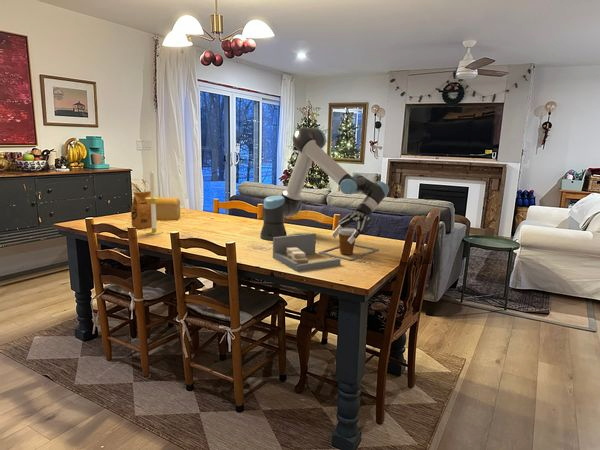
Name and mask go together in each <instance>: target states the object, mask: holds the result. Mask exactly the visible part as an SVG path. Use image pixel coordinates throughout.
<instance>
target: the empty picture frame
mask: <svg viewBox="0 0 600 450" xmlns="http://www.w3.org/2000/svg"><path fill="white" fill-rule="evenodd" d="M354 247H358V248H361V249H367V250H371V251H368V252H366V253H362V254H360V255H357V256H355V257H352V258H348V257H345V256H344V257H343V256H340V255H337V254H331V253H327V252H330V251H333V250H336V249H340V245H337V246H333V247H331V248H329V249H325V250H321V251H319V252H318V254H320V255H323V256H327V257H328V258H330V259H332V260H333V259H341V260H345V261H348V262H352V261H355V260H357V259H361V258H363V257H365V256H368V255H371V254H373V253H376V252H378V251H379V250H380V249H378V248H374V247H369V246H364V245H361V244H360V245H359V244H355V243H354Z"/></svg>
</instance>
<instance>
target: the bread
mask: <svg viewBox="0 0 600 450" xmlns="http://www.w3.org/2000/svg"><path fill="white" fill-rule="evenodd" d="M159 197H160V199H156V200H155V204H156V221H157V220H176V221H179V220H180V218H181V201H180V199H179V198H178V197H175V196H174V197H173V196H159ZM178 219H179V220H178Z"/></svg>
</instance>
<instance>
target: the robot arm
mask: <svg viewBox="0 0 600 450" xmlns="http://www.w3.org/2000/svg"><path fill="white" fill-rule="evenodd" d="M326 142H327V138H326V134H325V133H324V131H323V130H321V128H317V127H305V126H302V127H299V128H297V129H296V130H295V132H293V135H292V143H293V146H294V147H295V148H296V150H297V151H298V155H297V157H296V158H297V159H296V160H295V164H294V166H293V170H292V172H291V175H290V178H289V181H288V184H287V187H286V189H285V190H282V193H281V195H270V196H269V195H268V196H267V197H265V198H264V199H263V207H262V208H263V225H262V227H261V230H260V232H259V233H260V235H259V236H260V237H259V238H260V239H262V240H265V241H266V240H267V241H273V237H282V236H288V233H287V230H286V227H285V218H288V217H293V216H295V215H298V214H299V213H300V212H301V210H302V207H303V206H302V205H303V202H302V195H301V193H302V190H303V188H304V186H305V183H306V180H307V176H308V174H309V171H310V169H311V166H312V162H313V163H314V164H315V165H316V166H318V168H320V169H321V170H322V171H323V173H325V174H327V176H328V177H329V178H331V180H333V181H334V182H335V183H336V184H337V185H338V186H339V189H340V191H341V193H342V194H344V195H353V194H358V193H361V194H363V195H365V197H364V198H363V200H362V201H361V203H359V205H358V206H356V211H355V212H353V210H351V211H350V212H349V213H348V214H347V215H345V216H344V217H343V218H341V219H340V220H338V221H337V225H338V226H336V228H335V230H334V231H333V232H332V233H331V236H332V237H333V238H334V239H335V238H337V237H338V236H339V233H338V231H339V229H340V228H345V227H346V226H349V225H350V224H351V223H357V229H356V228H355V229H356V230H355V232H354V233H353V234H352V235H351V237H350V238H349V239H348V242H349V243H350V244H352V243H353V241H354V240H355V241H356V239H357V238H358V237H359V236H360V235H361V234H362V235H365V233H366V230H367V228H368V224H369V222H370V220H371V218H370V217H371V215H372V213H373V212H374V211H375V210H376V208H377V207H378V206H379V204H380V203H381V202H382V201H383V200H384V198H386V196H387V195H388V194H389V192H390V187H389V186H388V184H387V183H385V182H384V181H377V182H373V181H372V180H370V179H369V178H366V177H365V176H363V175H361V174H360V173H356V174H354V175H353V176H352V175H351V174H350V173H348V172H347V171H346V169H344V168H343V167H342V165H340V164H339V163H337V161H335V160H334V159H333V158H332V157H331V156H330V155H329V154H328V153H326V151H324V150H323V148H324V147H325V145H326Z"/></svg>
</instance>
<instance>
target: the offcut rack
mask: <svg viewBox="0 0 600 450" xmlns="http://www.w3.org/2000/svg"><path fill="white" fill-rule="evenodd" d="M316 242H317V234H316V233H315V232H313V233H311V232H310V233H304V234H303V233H302V234H294V235H287V236H282V237H273V240H272V258H273V259H275V260H276V261H277V262H279V263H281V264H283V265H284V266H287V267H288V268H290V269H292V270H294V271H295V272H301V271H307V270H308V271H309V270H314V269H321V268H328V267H334V266H341V260H342V259H340V258H335V259H333V258H332V259H326V260H320V261H313V262H312V261H311V262H308V263H305V264H298V263H297V262H295V261H293V260H291V259H289V258H287V257H285V256H284V255H285V252H286V247H297V248H298V249H300V250H301V251H303V252H304V253H305V255H311V254H316Z"/></svg>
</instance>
